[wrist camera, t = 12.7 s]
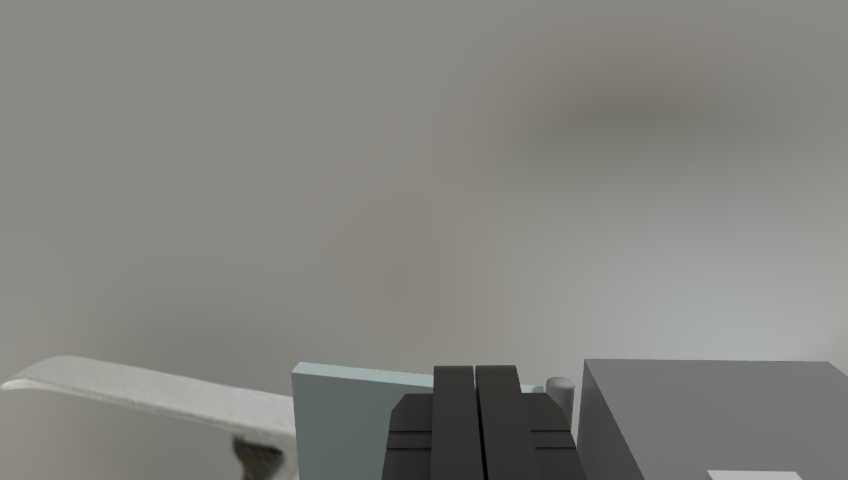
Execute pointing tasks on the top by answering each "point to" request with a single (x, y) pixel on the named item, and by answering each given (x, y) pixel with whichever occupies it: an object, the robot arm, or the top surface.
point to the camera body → (713, 420)
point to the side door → (363, 416)
